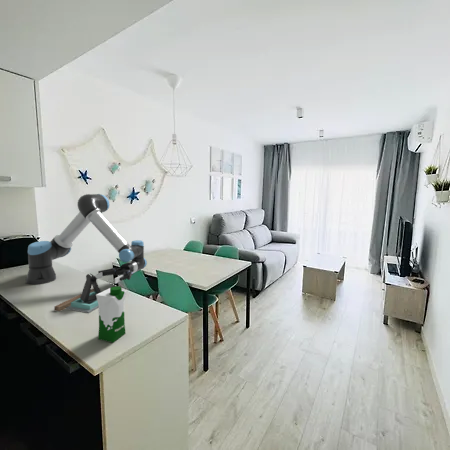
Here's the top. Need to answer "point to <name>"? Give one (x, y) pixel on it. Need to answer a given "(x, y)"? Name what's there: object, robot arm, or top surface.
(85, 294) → the phone stand
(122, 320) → the milk carton
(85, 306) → the cradle
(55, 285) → the top surface
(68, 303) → the strip
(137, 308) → the top surface
